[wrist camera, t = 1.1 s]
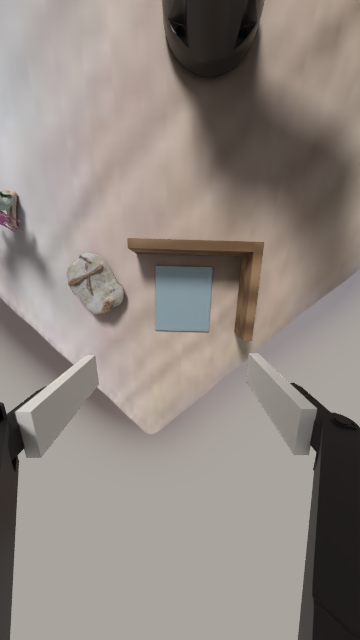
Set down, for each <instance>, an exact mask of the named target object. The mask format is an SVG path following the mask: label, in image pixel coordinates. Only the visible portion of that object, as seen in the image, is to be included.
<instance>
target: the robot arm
mask: <svg viewBox="0 0 360 640" xmlns="http://www.w3.org/2000/svg"><path fill="white" fill-rule="evenodd" d="M263 5H264V0H162V6H163V21H164V29H165V34H166V37H167V41H168V43H169V46H170V48H171V50H172V52H173V54H174V55H175V57H176V58H177V59H178V61H179V62H180V63H181V64H182V65H183V66H184V67H185V68H187V69H188V70H190V71H191V72H193V73H195V74H198V75H201V76H217V75H221V74H224V73H226V72H228V71H229V70H231V69H232V68H234V67H235V66H236V65H237V64H238V63H239V62H240V61H241V60H242V59H243V58H244V56H245V55H246V54H247V52H248V50H249V49H250V47H251V45H252V42H253V40H254V37H255V34H256V31H257V28H258V25H259V21H260V18H261V14H262V10H263ZM98 384H99V382H98V374H97V366H96V358H95V355H86V356H85V357H83V358H82V359H81V360H80V361H78V362H77V363H76V364H75V365H73V366H72V367H71V368H70V369H68V370H67V371H66V372H65V373H63V374H62V375H61V376H60V377H58V378H57V379H56V380H55V381H53V382H52V383H51V384H50V385H48V386H46V387H44V388H42V389H40V390H38V391H36V392H35V393H34V394H33V395H31V396H30V397H29V398H27V399H26V400H25V401H24V402H23V403H21V404H20V405H18V406H17V407H16V408H14V409H13V410H12V411H10V412H9V413H8V414H6V411H5V407H4V404H3V403H1V402H0V640H10V626H11V606H12V586H13V566H14V547H15V527H16V508H17V487H18V468H19V460H18V456H17V455H18V454H19V453H20V452H21V451H22V450H23V449H24V450H25V454H26V457H27V458H39V457H42V456H43V454H44V453H45V452H46V451H47V449H48V448H49V447H50V446H51V444H52V443H53V442H54V440H55V439H56V438H57V437H58V435H59V434H60V433H61V431H62V430H63V429H64V428H65V426H66V425H67V424H68V423H69V421H70V420H71V419H72V418H73V416H74V415H75V414H76V412H77V411H78V409H80V407H81V406H82V405H83V403H84V402H85V401H86V400H87V398H88V397H89V396H90V395H91V393H92V392H93V391H94V390H95V388H96V387H97V386H98ZM247 384H248V385H249V387H250V388H251V390H252V392H253V393H254V395H255V396H256V398H257V399H258V401H259V402H260V404H261V405H262V407H263V408H264V410H265V411H266V413H267V414H268V416H269V417H270V419H271V421H272V422H273V424H274V425H275V427H276V428H277V430H278V431H279V433H280V434H281V436H282V437H283V439H284V441H285V442H286V443H287V445H288V447H289V448H290V450H291V451H292V453H293V454H294V455H309V451H310V446H312V447H313V449H314V450H315V451H316V452H317V453H316V458H315V463H314V468H313V470H314V479H313V490H312V499H311V510H310V520H309V532H308V541H307V552H306V561H305V572H304V582H303V592H302V604H301V613H300V623H299V634H298V640H360V427H359V426H358V425H357V424H356V423H355V422H354V421H352V420H351V419H349V418H347V417H345V416H343V415H340V414H336V413H331V412H330V411H328V410H327V409H326V408H325V407H324V406H323V405H322V404H320V403H319V402H318V401H317V400H316V399H315V398H313V397H312V396H311V395H310V394H308V392H307V391H306V390H304V389H303V388H302V387H300V386H298V385H297V384H295V383H289V382H288V381H287V380H286V379H285V378H284V377H283V376H282V375H280V374H279V373H278V372H277V371H276V370H275V369H274V368H273V367H272V366H271V365H270V364H269V363H268V362H267V361H265V360H264V359H263V358H262V357H261V356H260V355H259V354H258V353H249V358H248V371H247Z"/></svg>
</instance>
